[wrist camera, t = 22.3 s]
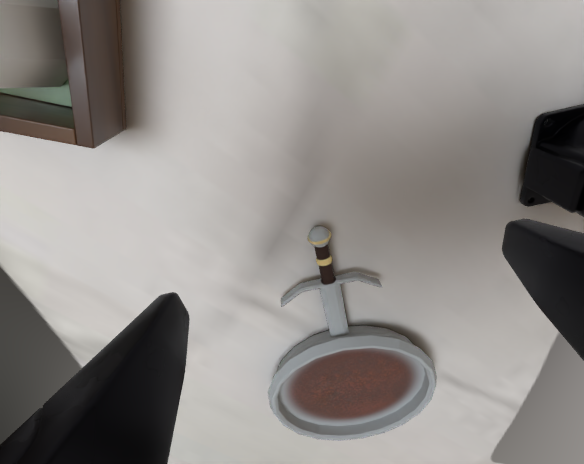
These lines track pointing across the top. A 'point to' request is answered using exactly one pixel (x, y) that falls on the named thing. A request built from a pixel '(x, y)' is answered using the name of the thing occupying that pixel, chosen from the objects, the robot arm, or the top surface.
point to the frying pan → (348, 368)
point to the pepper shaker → (31, 44)
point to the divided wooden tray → (76, 82)
